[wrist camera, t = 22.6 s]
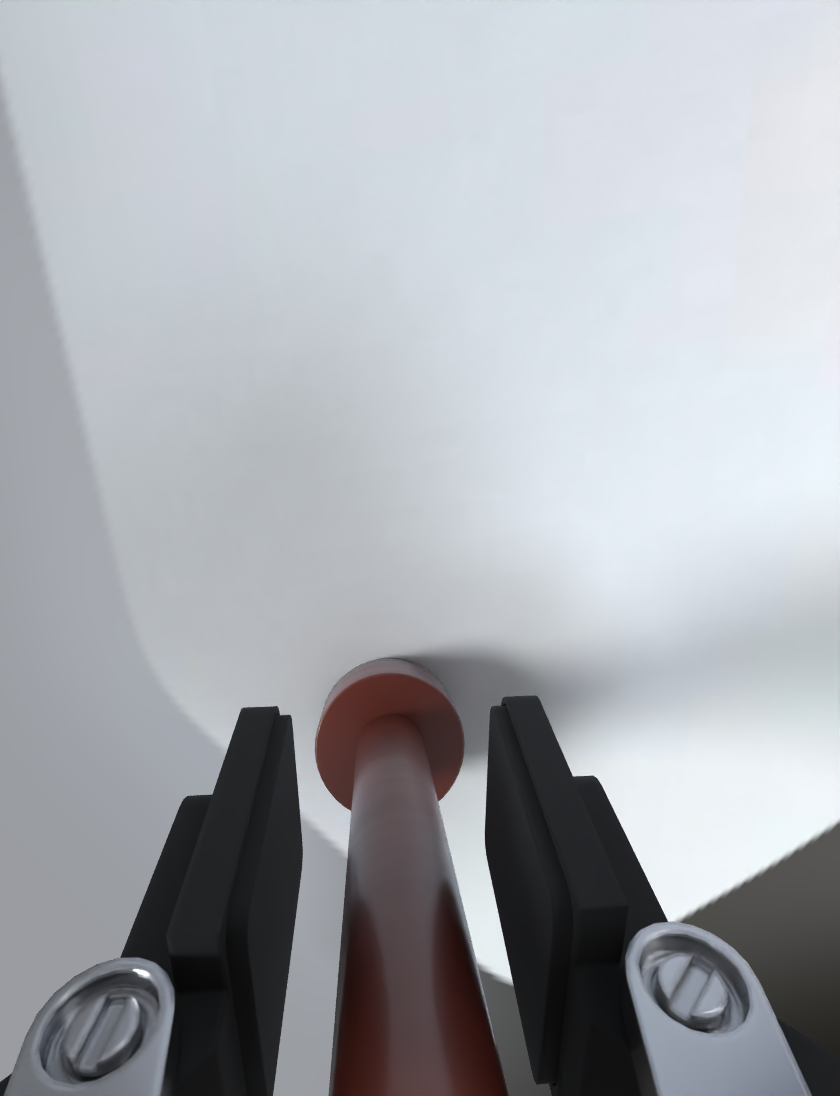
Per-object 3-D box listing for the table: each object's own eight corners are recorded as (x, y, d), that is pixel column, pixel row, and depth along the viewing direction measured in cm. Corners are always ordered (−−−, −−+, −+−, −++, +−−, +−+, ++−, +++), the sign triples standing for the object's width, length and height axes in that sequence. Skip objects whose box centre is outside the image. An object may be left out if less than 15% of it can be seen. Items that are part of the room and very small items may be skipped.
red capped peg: (293, 740, 19) (61, 1343, 5) (375, 631, 19) (378, 912, 5) (402, 817, 19) (479, 1596, 5) (481, 709, 19) (772, 1183, 5)
